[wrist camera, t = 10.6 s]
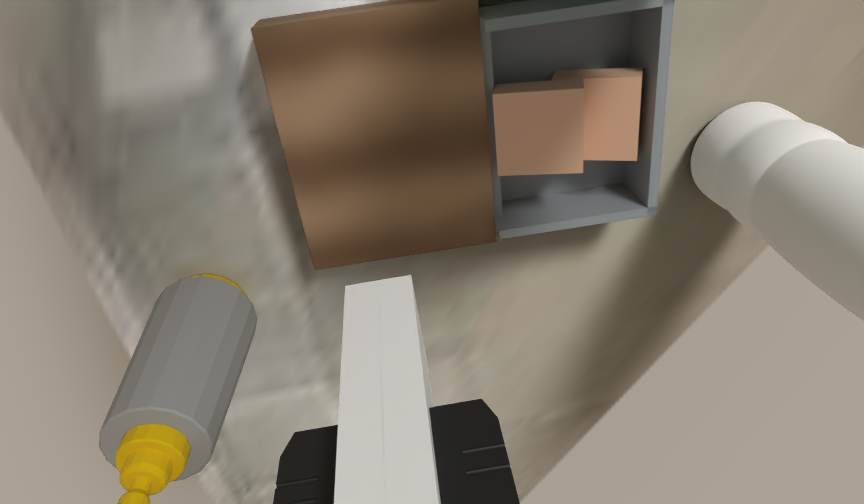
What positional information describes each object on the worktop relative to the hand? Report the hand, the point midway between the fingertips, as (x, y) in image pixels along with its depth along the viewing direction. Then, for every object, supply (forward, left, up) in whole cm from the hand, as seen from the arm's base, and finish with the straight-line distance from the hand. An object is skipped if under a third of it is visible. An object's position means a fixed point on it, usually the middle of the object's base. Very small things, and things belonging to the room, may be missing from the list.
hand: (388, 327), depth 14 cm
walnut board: (+4, 0, -25) cm, 25 cm away
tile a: (+4, +9, -23) cm, 25 cm away
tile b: (+4, +12, -22) cm, 25 cm away
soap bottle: (+15, -14, -25) cm, 32 cm away
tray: (+4, +11, -25) cm, 28 cm away
